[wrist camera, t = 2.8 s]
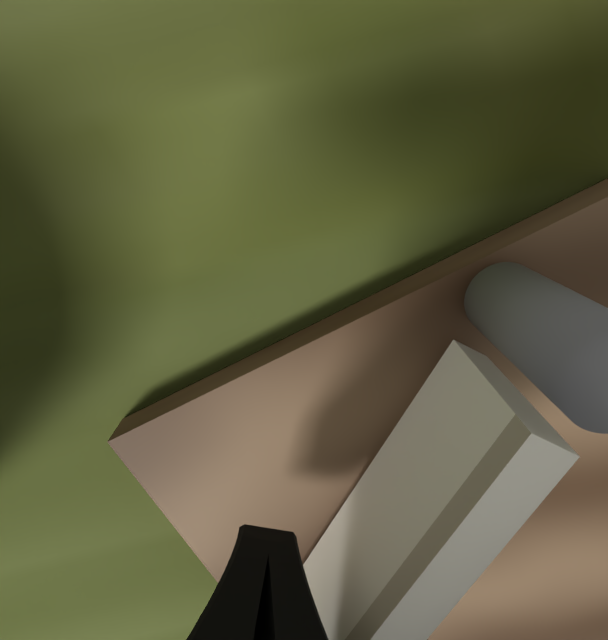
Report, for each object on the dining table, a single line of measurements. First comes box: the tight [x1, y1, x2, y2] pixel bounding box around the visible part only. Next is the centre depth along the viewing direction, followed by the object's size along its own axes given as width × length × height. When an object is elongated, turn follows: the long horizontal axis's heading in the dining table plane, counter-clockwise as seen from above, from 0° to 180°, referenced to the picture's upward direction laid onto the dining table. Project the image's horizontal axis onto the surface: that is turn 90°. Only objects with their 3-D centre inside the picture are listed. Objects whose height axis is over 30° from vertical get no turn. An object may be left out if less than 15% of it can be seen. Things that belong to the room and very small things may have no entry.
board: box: [108, 178, 608, 640], centre depth 13 cm, size 15×15×5 cm
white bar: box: [303, 262, 608, 640], centre depth 11 cm, size 14×2×4 cm, turn 153°
